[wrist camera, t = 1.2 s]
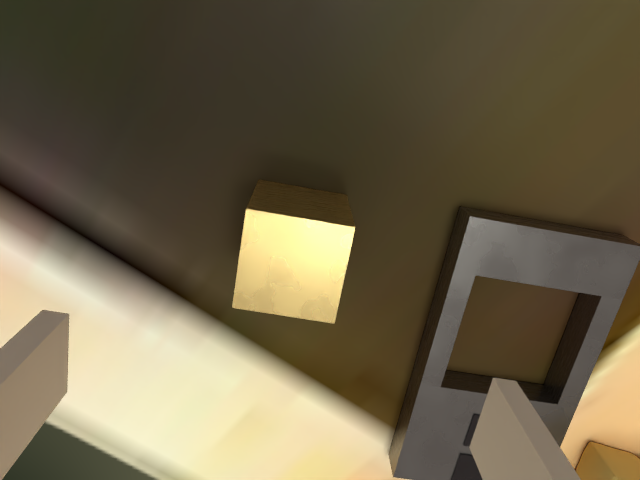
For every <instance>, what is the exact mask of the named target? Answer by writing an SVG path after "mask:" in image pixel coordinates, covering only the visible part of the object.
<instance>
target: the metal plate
mask: <svg viewBox="0 0 640 480" xmlns="http://www.w3.org/2000/svg"><path fill="white" fill-rule="evenodd" d="M639 260H640V244H638V243H637V242H635V241H633V240H631V239H629V238H628V237H626V236H624V235H619V234H614V233H608V232H603V231H597V230H591V229H586V228H580V227H574V226H569V225H563V224H557V223H552V222H546V221H540V220H535V219H529V218H523V217H518V216H512V215H506V214H501V213H495V212H489V211H484V210H478V209H472V208H467V207H461V206H460V207H459V210H458V214H457V217H456V221H455V224H454V228H453V231H452V235H451V238H450V242H449V245H448V249H447V252H446V256H445V259H444V263H443V266H442V270H441V273H440V277H439V280H438V284H437V287H436V291H435V294H434V298H433V301H432V305H431V308H430V312H429V315H428V319H427V322H426V326H425V329H424V333H423V336H422V340H421V343H420V347H419V350H418V354H417V357H416V361H415V364H414V368H413V371H412V375H411V378H410V382H409V385H408V389H407V392H406V396H405V399H404V403H403V406H402V410H401V413H400V417H399V420H398V424H397V427H396V431H395V434H394V438H393V441H392V445H391V448H390V452H389V459H390V464H391V469H392V474H393V477H396V478H404V479H411V480H483V479H482V477H481V474H480V472H479V469H478V467H477V465H476V462H475V460H474V458H473V455H472V453H471V450H470V448H469V447H470V444H471V441H472V438H473V435H474V432H475V429H476V426H477V423H478V420H479V417H480V414H481V412H482V409H483V406H484V403H485V400H486V397H487V394H488V391H489V388H490V385H491V382H492V380H493V378H495V377H488V376H481V375H475V374H468V373H462V372H455V371H448V370H446V368H447V365H448V362H449V358H450V355H451V352H452V349H453V346H454V342H455V339H456V336H457V333H458V329H459V326H460V323H461V320H462V317H463V313H464V310H465V307H466V304H467V301H468V297H469V294H470V291H471V288H472V285H473V281H474V278H475V275H477V276H483V277H489V278H495V279H501V280H507V281H513V282H519V283H525V284H531V285H537V286H543V287H549V288H555V289H561V290H567V291H573V292H579V296H578V298H577V301H576V303H575V306H574V309H573V311H572V314H571V316H570V319H569V321H568V324H567V326H566V329H565V332H564V334H563V337H562V339H561V342H560V344H559V347H558V349H557V352H556V355H555V357H554V360H553V362H552V365H551V367H550V370H549V372H548V375H547V378H546V380H545V383H544V385H541V384H535V383H528V382H521V381H517V383H518V384H519V386H520V387H521V389H522V391H523V392H524V394H525V395H526V397H527V398H528V400H529V401H530V403H531V404H532V406H533V407H534V409H535V410H536V412H537V413H538V415H539V416H540V418H541V420H542V421H543V423H544V424H545V426H546V427H547V429H548V430H549V432H550V433H551V435H552V436H553V438H554V439H555V441H556V442H557V444H558V445H559V447H560V446H561V443H562V441H563V439H564V436H565V434H566V432H567V429H568V427H569V425H570V422H571V420H572V418H573V415H574V413H575V410H576V408H577V406H578V403H579V401H580V399H581V396H582V394H583V392H584V389H585V387H586V385H587V382H588V380H589V378H590V375H591V373H592V370H593V368H594V366H595V363H596V361H597V359H598V356H599V354H600V352H601V349H602V347H603V345H604V342H605V340H606V337H607V335H608V333H609V330H610V328H611V326H612V323H613V321H614V319H615V316H616V314H617V312H618V309H619V307H620V304H621V302H622V300H623V297H624V295H625V293H626V290H627V288H628V286H629V283H630V281H631V279H632V276H633V274H634V271H635V269H636V267H637V264H638V262H639ZM500 379H501V378H500ZM506 380H508V379H506ZM513 381H515V380H513Z"/></svg>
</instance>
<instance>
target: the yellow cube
mask: <svg viewBox="0 0 640 480" xmlns="http://www.w3.org/2000/svg"><path fill="white" fill-rule="evenodd" d="M354 231H355V224H354V221H353V217H352V213H351V209H350V206H349V202H348V198H347V195H345V194H339V193H333V192H327V191H322V190H316V189H310V188H305V187H299V186H293V185H287V184H282V183H276V182H270V181H265V180H258V183H257V185H256V187H255V189H254V192H253V194H252V196H251V199H250V201H249V203H248V205H247V208H246V212H245V219H244V227H243V234H242V241H241V248H240V255H239V262H238V269H237V276H236V284H235V291H234V298H233V305H232V308H238V309H244V310H250V311H257V312H263V313H270V314H276V315H283V316H289V317H296V318H302V319H308V320H315V321H321V322H328V323H335V319H336V314H337V309H338V305H339V300H340V296H341V291H342V286H343V282H344V277H345V273H346V268H347V263H348V259H349V254H350V250H351V245H352V240H353V236H354Z"/></svg>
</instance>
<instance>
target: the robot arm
mask: <svg viewBox="0 0 640 480" xmlns="http://www.w3.org/2000/svg"><path fill="white" fill-rule="evenodd" d="M68 340H69V314H67V313H60V312H53V311H47V310H42V311H41V312H40V313H39V314H38V315H37V316H35V317H34V318H33V319H32V320H31V321H30V322H29V323H28V324H27V325H26V326H25V327H23V328H22V329H21V330H20V331H19V332H18V333H17V334H16V335H15V336H14V337H13V338H11V339H10V340H9V341H8V342H7V343H6V344H5V345H4V346H3V347H2V348H0V480H2V478H3V477H4V476H5V475H6V473H7V472H8V471H9V469H10V468H11V466H12V465H13V464H14V462H15V461H16V460H17V458H18V457H19V456H20V454H21V453H22V452H23V450H24V449H25V448H26V446H27V445H28V444H29V442H30V441H31V440H32V438H33V437H34V436H35V434H36V433H37V432H38V430H39V429H40V427H41V426H42V425H43V423H44V422H45V421H46V419H47V418H48V417H49V415H50V414H51V413H52V411H53V410H54V409H55V407H56V406H57V405H58V403H59V402H60V401H61V399H62V398H63V397H64V395H65V394H66V393H67V378H68ZM469 448H470V450H471V453H472V455H473V458H474V460H475V462H476V465H477V467H478V469H479V472H480V474H481V477H482V479H483V480H581V479H580V477H579V476H578V474H577V473H576V471H575V470H574V468H573V467H572V465H571V464H570V462H569V461H568V459H567V458H566V456H565V455H564V453H563V452H562V450H561V448H560V447H559V445H558V444H557V442H556V441H555V439H554V438H553V436H552V435H551V433H550V432H549V430H548V429H547V427H546V426H545V424H544V423H543V421H542V420H541V418H540V416H539V415H538V413H537V412H536V410H535V409H534V407H533V406H532V404H531V403H530V401H529V400H528V398H527V397H526V395H525V394H524V392H523V391H522V389H521V387H520V386H519V384H518V383H517V381H513V380H506V379H500V378H493V380H492V382H491V385H490V388H489V391H488V394H487V397H486V400H485V403H484V406H483V409H482V412H481V414H480V417H479V420H478V423H477V426H476V429H475V432H474V435H473V438H472V441H471V444H470V447H469Z"/></svg>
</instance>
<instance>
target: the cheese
mask: <svg viewBox="0 0 640 480" xmlns="http://www.w3.org/2000/svg"><path fill="white" fill-rule="evenodd" d="M576 473H577V474H578V476H579V477H580V479H581V480H640V459H639V458H638V457H636V456H635V455H634V454H632V453H629V452H626V451H622V450H619V449H614V448H611V447H608V446H605V445H602V444H598V443H595V442H589V443H588V445H587V446H586V448H585V450H584V452H583V454H582V456H581V459H580V461H579V464H578V466H577V469H576Z"/></svg>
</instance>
